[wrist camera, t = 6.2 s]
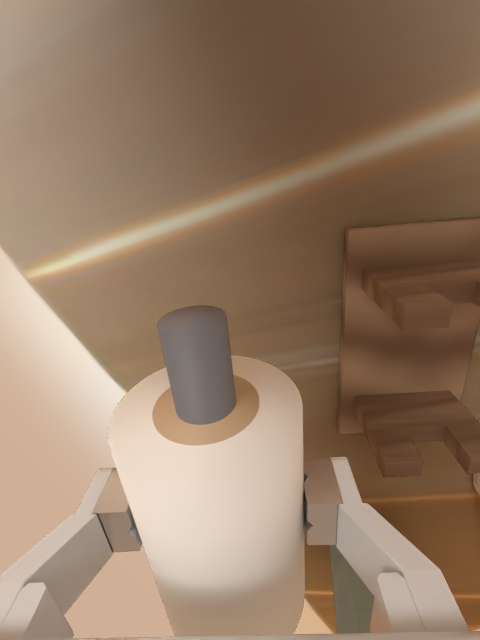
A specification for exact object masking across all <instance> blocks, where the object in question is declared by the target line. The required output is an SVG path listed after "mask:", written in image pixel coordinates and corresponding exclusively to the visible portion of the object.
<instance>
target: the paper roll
mask: <svg viewBox="0 0 480 640" xmlns="http://www.w3.org/2000/svg"><path fill="white" fill-rule="evenodd" d="M157 327H158V332H159V336H160V341H161V345H162V350H163V355H164V359H165V364H166V367H165V368H163V369H161V370H159V371H157V372H155V373H153V374H151V375H150V376H148V377H146V378H145V379H143V380H142V381H140V382H139V383H138V384H137V385H135V386H134V387H133V388H132V389H131V390H130V391H129V392H128V393H127V394H126V395H125V396H124V397H123V398H122V399H121V401H120V402H119V403H118V405H117V407H116V408H115V410H114V411H113V414H112V416H111V418H110V421H109V425H108V434H107V439H108V445H109V449H110V451H111V454H112V457H113V460H114V463H115V466H116V469H117V472H118V475H119V477H120V480H121V483H122V486H123V489H124V492H125V495H126V498H127V501H128V503H129V506H130V509H131V512H132V515H133V518H134V521H135V524H136V526H137V529H138V532H139V535H140V538H141V541H142V544H143V547H144V550H145V552H146V555H147V558H148V561H149V564H150V567H151V569H152V573H153V575H154V578H155V581H156V584H157V587H158V590H159V593H160V596H161V599H162V601H163V604H164V607H165V610H166V613H167V616H168V619H169V622H170V624H171V627H172V630H173V632H174V635H175V637H181V636H235V635H291V634H293V633H294V632H295V630H296V628H297V625H298V623H299V620H300V617H301V613H302V610H303V604H304V597H305V555H304V474H303V405H302V399H301V396H300V393H299V390H298V389H297V387H296V385H295V384H294V382H293V381H292V380H291V379H290V378H289V377H288V376H287V375H286V374H285V373H284V372H282V371H281V370H279V369H278V368H276V367H274V366H272V365H270V364H268V363H266V362H263V361H261V360H257V359H253V358H249V357H243V356H235V355H231V351H230V342H229V334H228V325H227V317H226V313H225V311H223V310H222V309H220V308H217V307H213V306H191V307H185V308H181V309H178V310H175V311H172V312H170V313H168V314H166V315H165V316H163V317H162V318H161V319H160V320H159V321H158V323H157Z"/></svg>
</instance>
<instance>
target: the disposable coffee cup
mask: <svg viewBox="0 0 480 640" xmlns="http://www.w3.org/2000/svg"><path fill="white" fill-rule="evenodd" d="M329 550H330V561H331V571H332V582H333V592H334V603H335V614H336V624H337V634H346V633H371V632H370V623H371V616H372V610H373V604H374V595H373V594H372V593H371V591H370V590H369V589H368V587H367V586H366V585H365V584H364V582H363V581H362V580H361V578H360V577H359V576H358V574H357V573H356V572H355V570H354V569H353V568H352V566H351V565H350V564H349V563H348V561H347V560H346V559H345V557H344V556H343V555H342V553H341V552H340V551H339V549H338V548H337V547H336V545H329Z"/></svg>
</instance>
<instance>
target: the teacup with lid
mask: <svg viewBox="0 0 480 640" xmlns="http://www.w3.org/2000/svg"><path fill="white" fill-rule="evenodd" d="M473 484H474V487H475V489H476V491H477V493H478V494H479V495H480V473H479V474H474V475H473Z"/></svg>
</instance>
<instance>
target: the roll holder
mask: <svg viewBox="0 0 480 640" xmlns="http://www.w3.org/2000/svg"><path fill="white" fill-rule="evenodd" d="M479 320H480V217H475V218H463V219H451V220H439V221H428V222H416V223H404V224H392V225H380V226H368V227H357V228H345V246H344V270H343V294H342V318H341V342H340V366H339V390H338V414H337V428H338V431H339V434H357V433H365V436H366V438H367V440H368V443H369V445H370V447H371V449H372V452H373V454H374V456H375V458H376V461H377V463H378V465H379V468H380V470H381V472H382V474H383V477H405V476H421V471H422V466H423V459H422V457H421V456H420V454H419V452H418V451H417V449H416V447H415V446H414V444H413V442H416V441H438V440H443V441H444V442H445V444H446V445H447V447H448V448H449V449H450V451H451V452H452V454H453V455H454V456H455V458H456V459H457V461H458V462H459V463H460V465H461V466H462V468H463V469H464V470H465V472H466V473H467V474H479V473H480V423H479V422H478V421H477V420H476V419H475V418H474V416H473V415H472V414H471V413H470V412H469V411H468V410H467V409H466V408H465V407H464V406H463V404H462V403H461V398H462V394H463V389H464V385H465V381H466V376H467V372H468V367H469V363H470V359H471V354H472V350H473V346H474V341H475V337H476V333H477V328H478V324H479Z"/></svg>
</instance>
